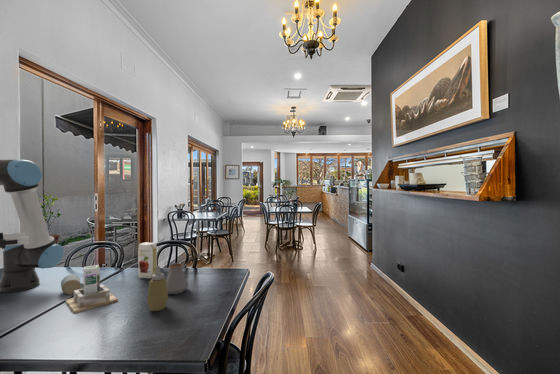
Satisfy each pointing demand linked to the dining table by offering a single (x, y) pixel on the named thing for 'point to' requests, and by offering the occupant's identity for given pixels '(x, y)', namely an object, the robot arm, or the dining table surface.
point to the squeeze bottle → (157, 291)
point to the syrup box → (91, 279)
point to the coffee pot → (177, 278)
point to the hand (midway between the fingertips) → (27, 237)
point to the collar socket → (90, 299)
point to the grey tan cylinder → (71, 284)
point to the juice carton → (147, 259)
